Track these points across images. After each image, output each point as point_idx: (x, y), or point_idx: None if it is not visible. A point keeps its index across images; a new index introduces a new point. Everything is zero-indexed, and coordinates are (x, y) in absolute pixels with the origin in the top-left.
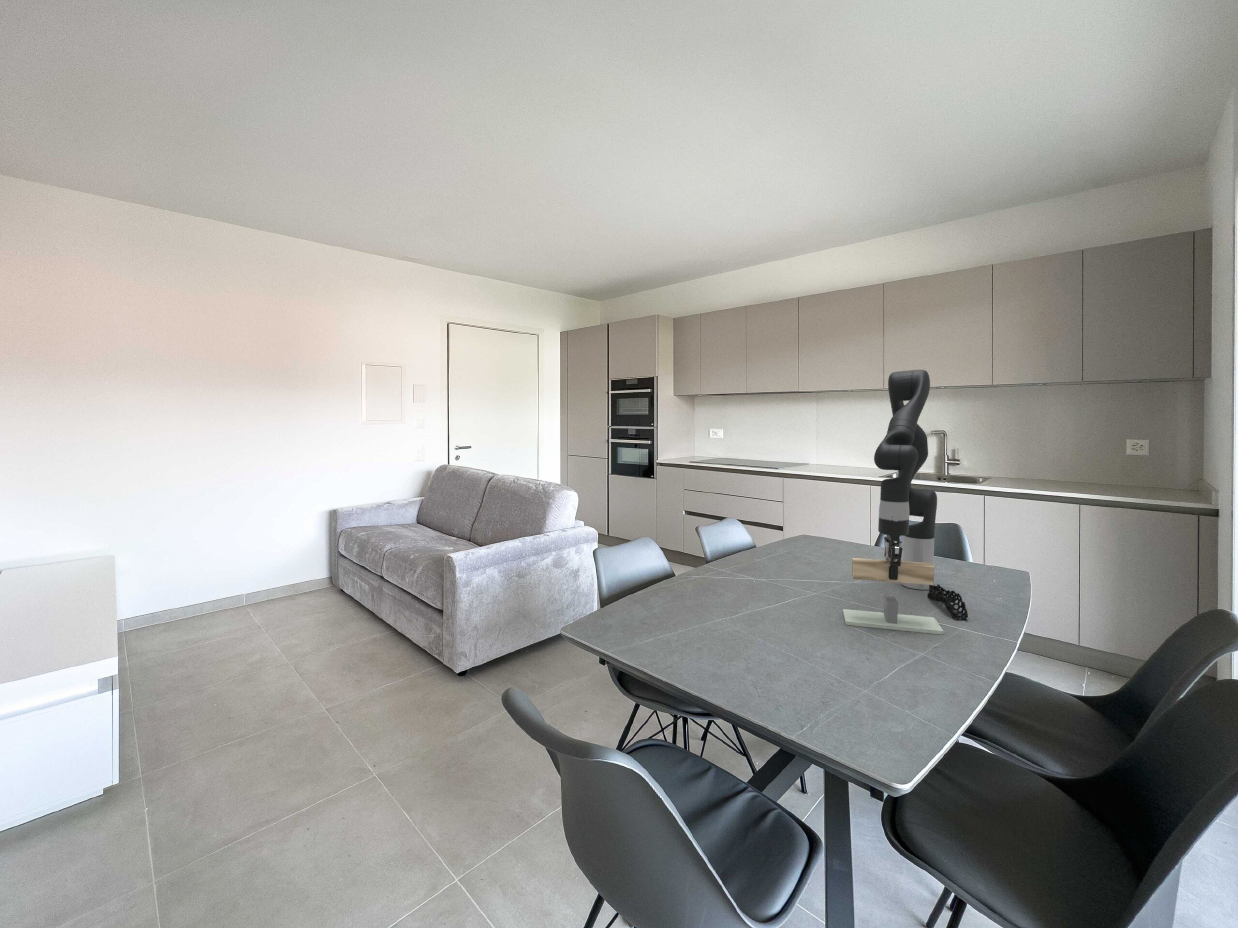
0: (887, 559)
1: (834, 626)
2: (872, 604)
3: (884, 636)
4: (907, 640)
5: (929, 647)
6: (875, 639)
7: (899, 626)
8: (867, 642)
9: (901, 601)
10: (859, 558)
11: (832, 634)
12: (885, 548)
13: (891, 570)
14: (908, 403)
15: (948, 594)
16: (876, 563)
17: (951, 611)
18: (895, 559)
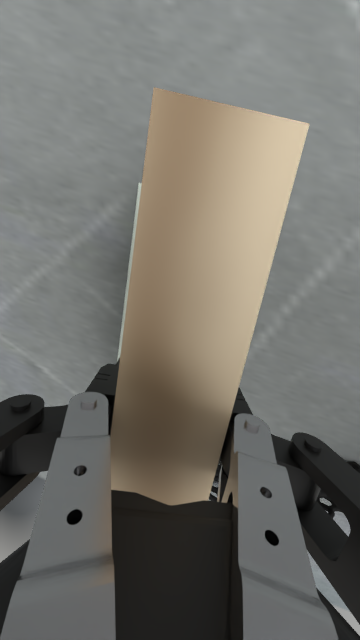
0: (233, 430)
1: (122, 143)
2: (308, 316)
3: (73, 272)
4: (60, 320)
5: (29, 354)
6: (47, 241)
7: (122, 326)
8: (19, 212)
9: (327, 395)
10: (286, 201)
11: (54, 117)
12: (234, 513)
13: (88, 388)
14: None
15: (322, 506)
16: (127, 314)
17: (218, 471)
18: (219, 481)
